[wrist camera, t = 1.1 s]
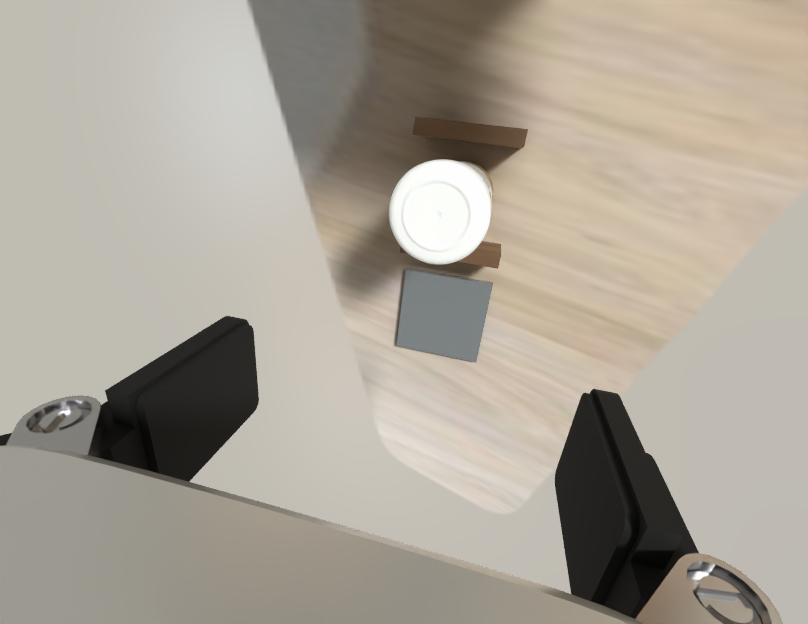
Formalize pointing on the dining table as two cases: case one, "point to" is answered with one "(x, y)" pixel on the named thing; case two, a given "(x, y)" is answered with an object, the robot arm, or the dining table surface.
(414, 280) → the slate coaster
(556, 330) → the dining table surface
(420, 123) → the walnut rack
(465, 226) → the sprinkles bottle
